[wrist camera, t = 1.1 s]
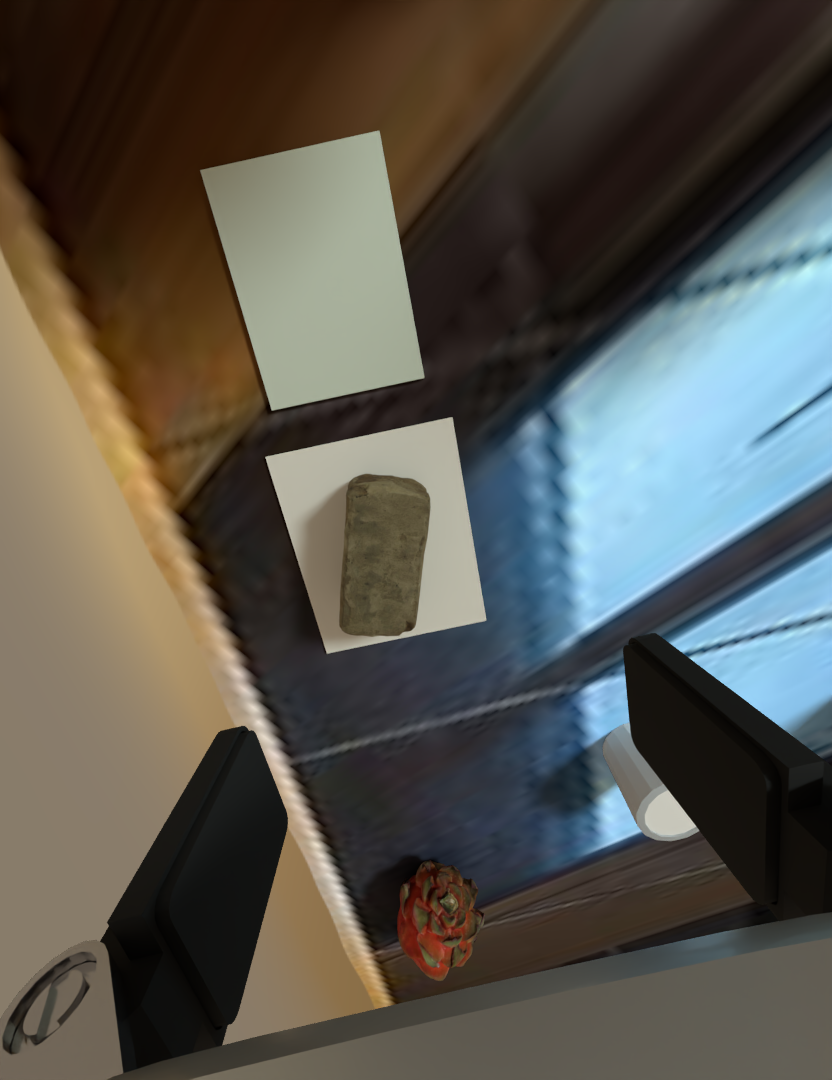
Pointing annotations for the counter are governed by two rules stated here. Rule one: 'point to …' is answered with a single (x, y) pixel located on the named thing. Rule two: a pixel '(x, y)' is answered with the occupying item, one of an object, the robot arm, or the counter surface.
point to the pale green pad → (318, 269)
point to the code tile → (320, 511)
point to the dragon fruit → (438, 918)
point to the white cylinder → (644, 790)
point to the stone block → (383, 555)
